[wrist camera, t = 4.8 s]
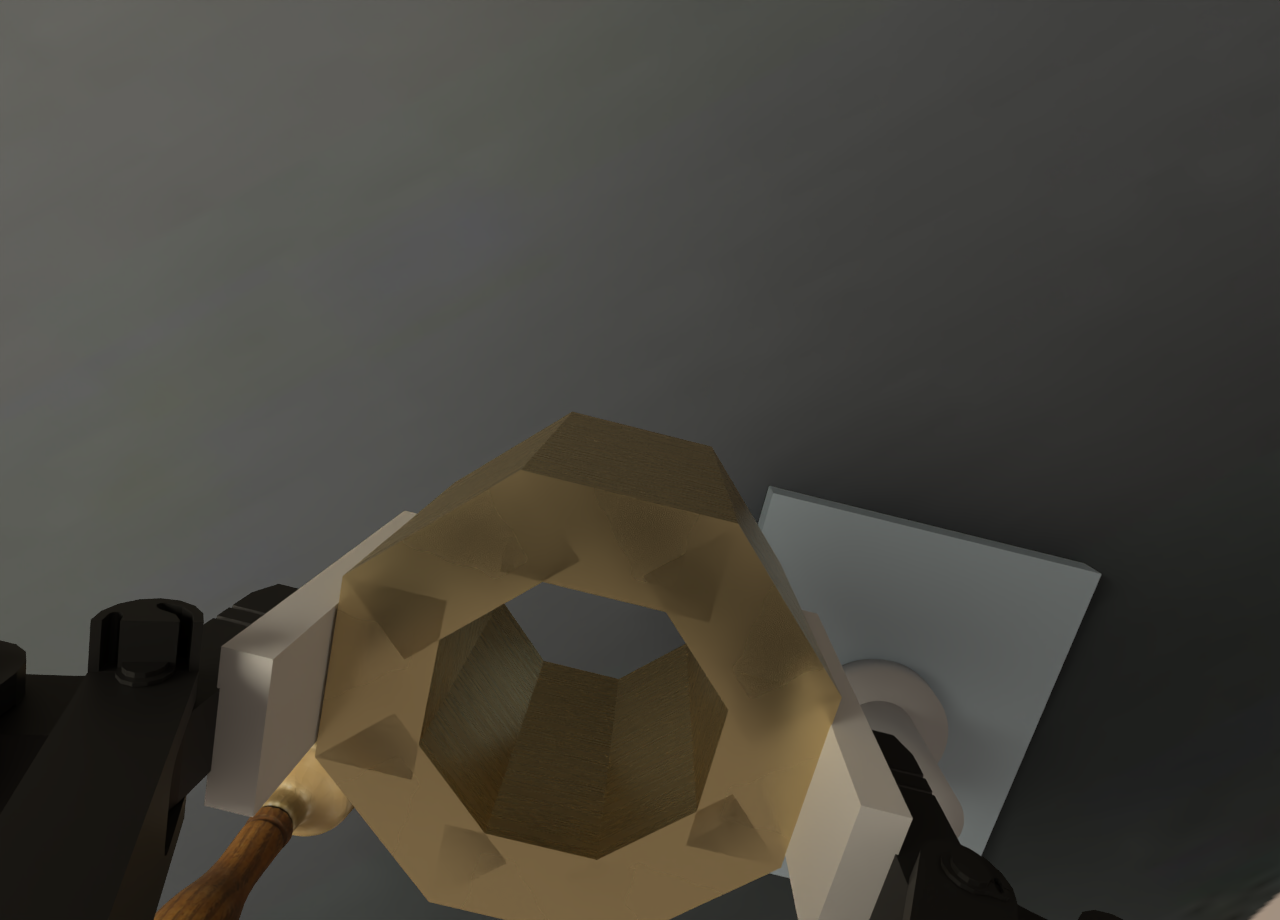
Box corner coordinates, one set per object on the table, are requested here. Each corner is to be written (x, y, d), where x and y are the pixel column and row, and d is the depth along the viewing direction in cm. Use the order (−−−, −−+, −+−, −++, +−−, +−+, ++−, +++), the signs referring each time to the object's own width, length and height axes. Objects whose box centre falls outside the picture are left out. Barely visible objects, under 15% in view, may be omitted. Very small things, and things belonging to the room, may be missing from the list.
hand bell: (354, 603, 31) (30, 897, 15) (477, 726, 32) (290, 1116, 17) (240, 705, 33) (-160, 1065, 17) (361, 818, 34) (90, 1255, 18)
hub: (472, 386, 16) (365, 431, 10) (809, 471, 16) (890, 561, 11) (415, 689, 18) (296, 871, 12) (717, 762, 18) (742, 975, 12)
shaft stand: (769, 485, 29) (799, 541, 22) (1084, 563, 29) (1216, 644, 22) (667, 829, 33) (665, 970, 26) (944, 897, 33) (1017, 1056, 26)
